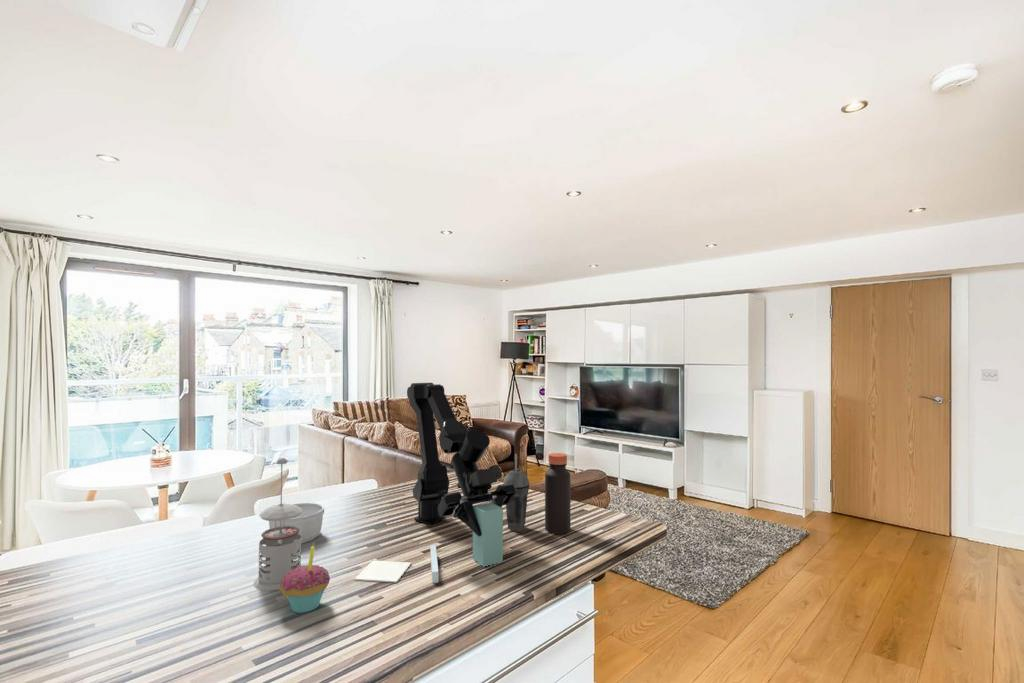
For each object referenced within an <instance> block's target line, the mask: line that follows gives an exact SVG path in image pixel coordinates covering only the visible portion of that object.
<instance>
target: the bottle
mask: <svg viewBox="0 0 1024 683" xmlns="http://www.w3.org/2000/svg"><path fill="white" fill-rule="evenodd" d="M567 464H568V455H567V454H566V453H561V452H552V453H549V454H548V465H549V468H548V469H547V470H546V472H545V473H544V528H545V531H546V532H547V531H548V533H549V532H550V533H549V534H552V533H554V534H553V535H564V534H563V533H566V534H567V532H568V533H570V531H571V528H572V527H571V517H572V516H571V472H570V471H569V470H568V469H567Z"/></svg>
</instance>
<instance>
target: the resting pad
mask: <svg viewBox="0 0 1024 683" xmlns="http://www.w3.org/2000/svg"><path fill="white" fill-rule="evenodd" d="M410 564H411V565H412V562H406V561H405V562H403V561H389V560H372V561H370V563H369V564H368V565H367V566H366V567H365V568H364V569H363V570H362V571H361V572H359V573H358V575H357V576H356V577H354V581H363V582H364V581H365V582H379V583H394V584H397V583H398V582H399V580H400V579H401V578H402V577H403V575H404V574H405V573H406V572H407V570H408V569H409V568H408V567H411V565H410ZM404 572H405V573H404ZM401 576H402V577H401Z"/></svg>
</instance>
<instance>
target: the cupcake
mask: <svg viewBox="0 0 1024 683" xmlns="http://www.w3.org/2000/svg"><path fill="white" fill-rule="evenodd" d="M314 555H315V542H313V543H312V546H310V552H309V557H308V564H307V565H305V564H303V565H301V566H299V567H296V568H294V569H292V570H291V571H289V573H286V575H285V576H284V577H283V579H282V580H281V582H280V585H279V588H280V592H281V594H282V595H283V596H285V597H286V598H287V599H288V603H289V605H290V608H291V611H292V612H294V613H296V614H297V613H300V614H301V613H303V614H304V613H308V612H311V611H313V610H315V609H317V608H318V607H319V605H320V603H321V600H322V596H323V594H324V592H325V590H326V588H327V587H328V585H329V583H330V580H331V578H330V574H329V571H328V570H327V569H326V568H324V566H321V565H317V564H313V563H314V562H313V561H314V557H315V556H314Z"/></svg>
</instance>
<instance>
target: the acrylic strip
mask: <svg viewBox="0 0 1024 683" xmlns="http://www.w3.org/2000/svg"><path fill="white" fill-rule="evenodd" d="M429 548H430V549H429V550H430V552H429V553H430V556H431V557H430V568H431V570H432V571H431V570H430V571H431V582H432V584H434V583H435V584H436V583H437V584H438V583H439V565H438V555H437V546H436V545H430V546H429Z"/></svg>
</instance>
